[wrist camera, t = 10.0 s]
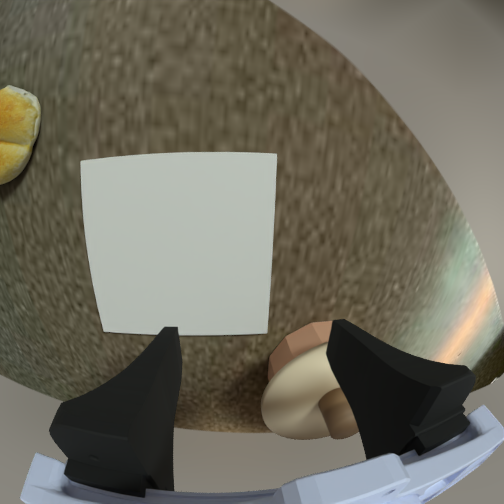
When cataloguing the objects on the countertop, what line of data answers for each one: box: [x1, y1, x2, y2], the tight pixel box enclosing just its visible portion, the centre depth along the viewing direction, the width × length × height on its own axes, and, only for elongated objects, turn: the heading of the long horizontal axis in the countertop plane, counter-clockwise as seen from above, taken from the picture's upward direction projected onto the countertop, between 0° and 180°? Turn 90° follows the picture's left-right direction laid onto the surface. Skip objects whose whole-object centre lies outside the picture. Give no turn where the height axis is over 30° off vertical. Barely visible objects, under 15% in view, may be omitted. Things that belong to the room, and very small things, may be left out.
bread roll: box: [0, 85, 41, 185], centre depth 14 cm, size 8×9×4 cm
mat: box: [81, 152, 277, 335], centre depth 21 cm, size 15×15×1 cm
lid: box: [261, 338, 384, 440], centre depth 20 cm, size 13×13×4 cm
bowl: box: [268, 321, 332, 382], centre depth 24 cm, size 10×10×5 cm
